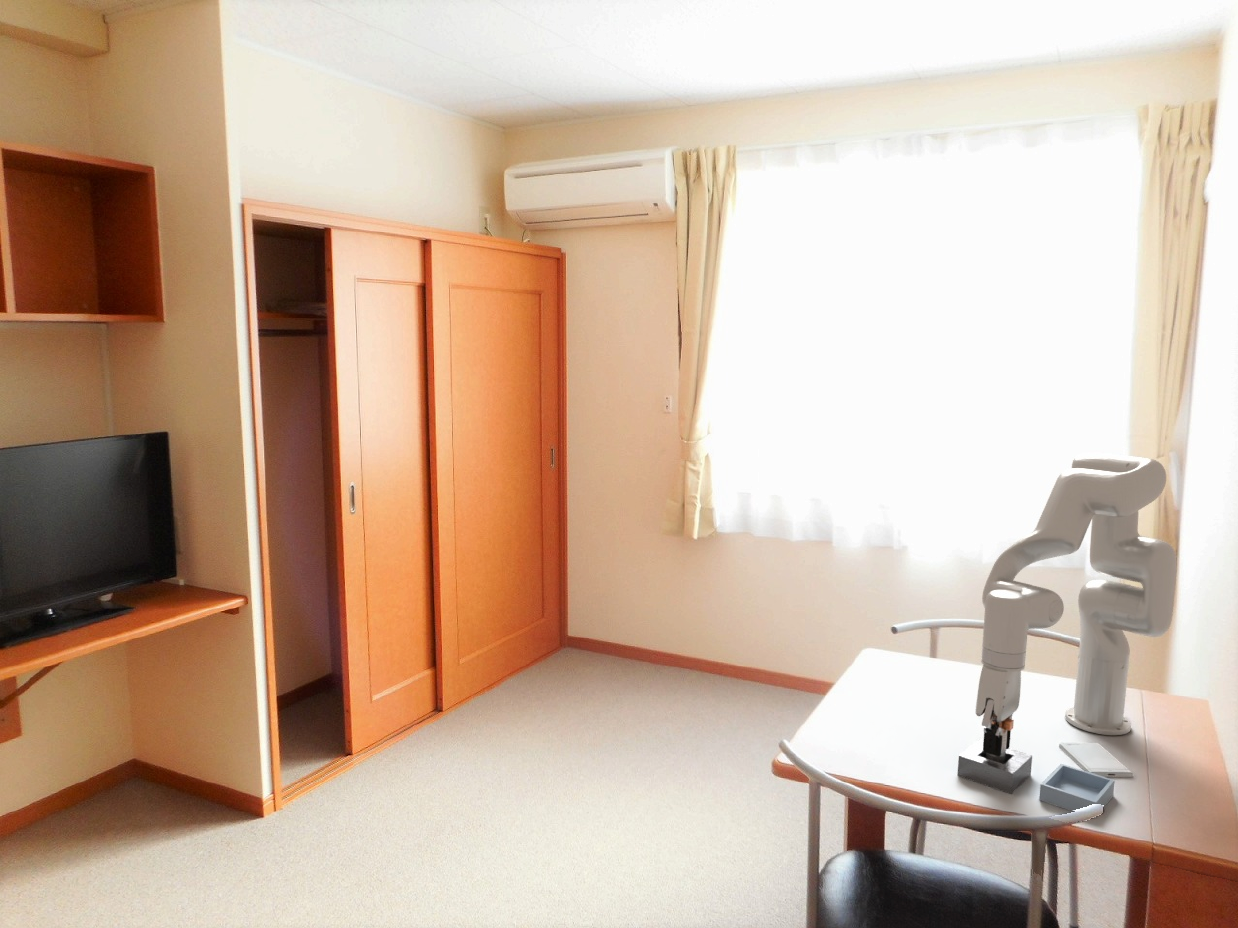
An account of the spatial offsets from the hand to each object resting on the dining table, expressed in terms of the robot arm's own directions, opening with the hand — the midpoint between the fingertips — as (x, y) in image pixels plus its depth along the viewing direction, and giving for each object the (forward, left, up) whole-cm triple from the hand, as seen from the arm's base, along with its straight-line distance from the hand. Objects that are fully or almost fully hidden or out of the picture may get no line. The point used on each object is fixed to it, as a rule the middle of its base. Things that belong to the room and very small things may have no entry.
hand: (996, 749), depth 171 cm
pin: (0, 0, -5) cm, 5 cm away
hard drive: (-20, +12, -6) cm, 24 cm away
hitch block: (0, 0, -5) cm, 5 cm away
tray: (-2, +14, -5) cm, 15 cm away
